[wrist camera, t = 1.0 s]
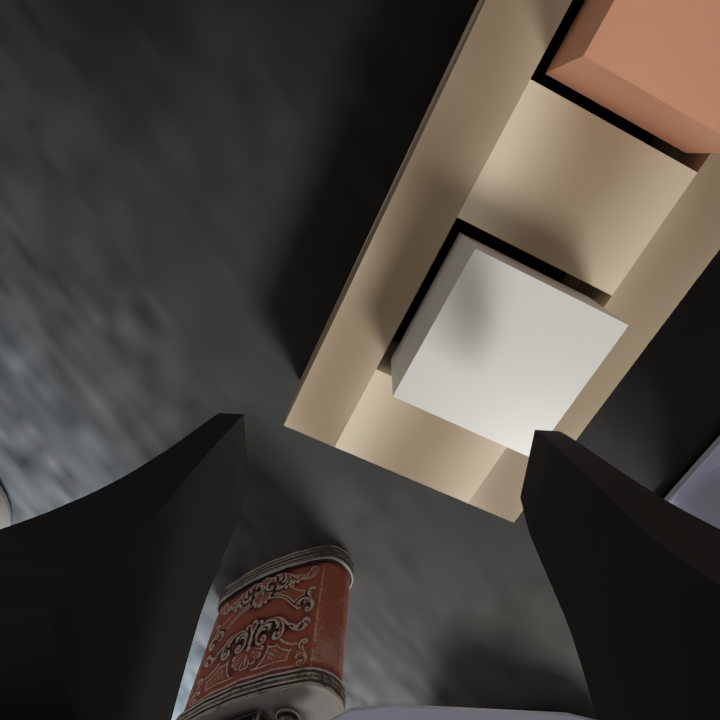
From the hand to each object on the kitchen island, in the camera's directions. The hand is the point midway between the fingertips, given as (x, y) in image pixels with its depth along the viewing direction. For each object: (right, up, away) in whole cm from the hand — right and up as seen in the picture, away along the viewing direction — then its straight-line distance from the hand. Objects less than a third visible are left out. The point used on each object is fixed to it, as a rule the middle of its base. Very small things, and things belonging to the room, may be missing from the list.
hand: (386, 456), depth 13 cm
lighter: (-5, -10, +15) cm, 18 cm away
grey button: (+4, +4, +5) cm, 7 cm away
